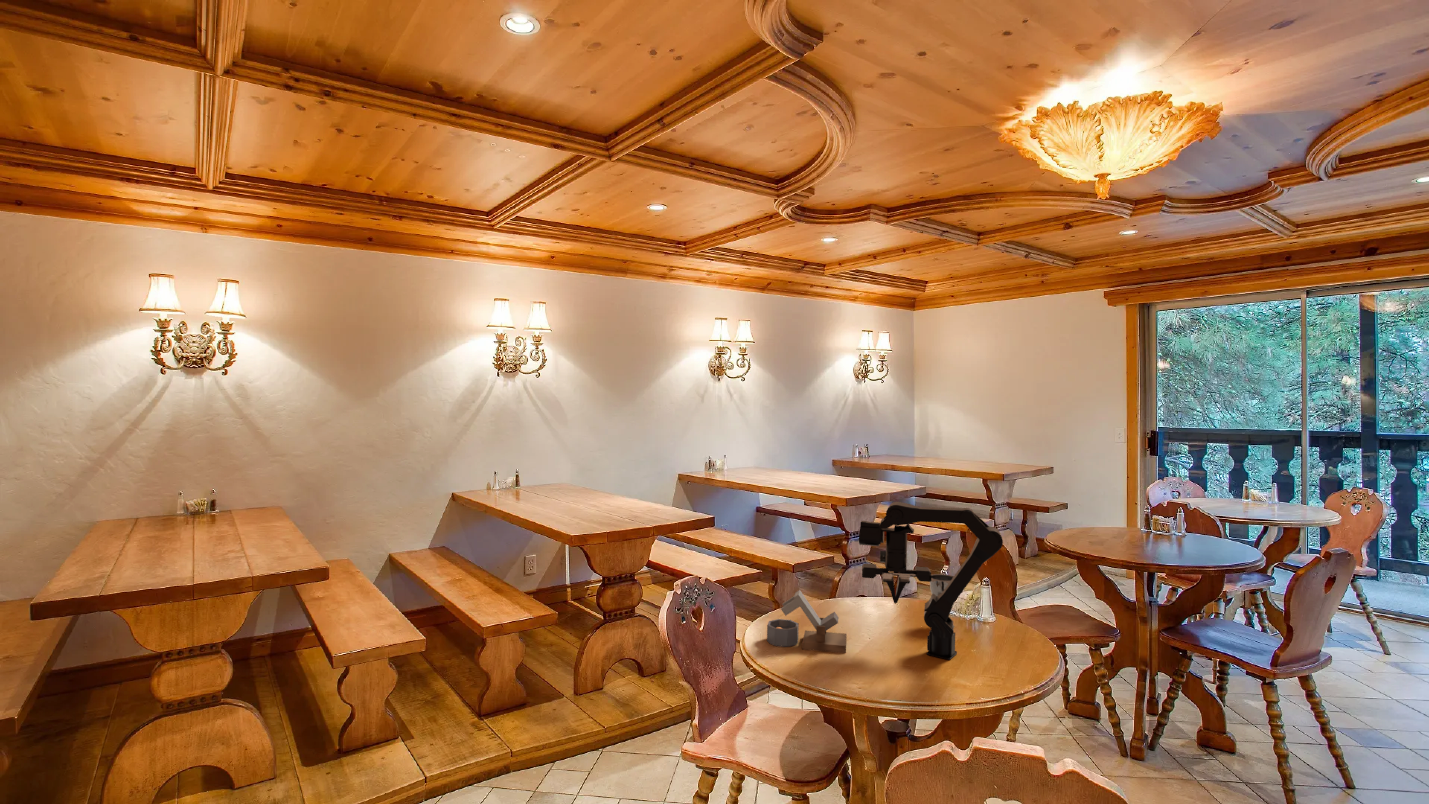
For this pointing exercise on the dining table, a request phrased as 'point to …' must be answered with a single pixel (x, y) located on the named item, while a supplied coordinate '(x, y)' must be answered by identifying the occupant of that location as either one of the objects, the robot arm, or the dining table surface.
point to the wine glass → (939, 583)
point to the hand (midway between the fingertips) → (895, 602)
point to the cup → (782, 632)
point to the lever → (808, 611)
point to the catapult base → (824, 640)
